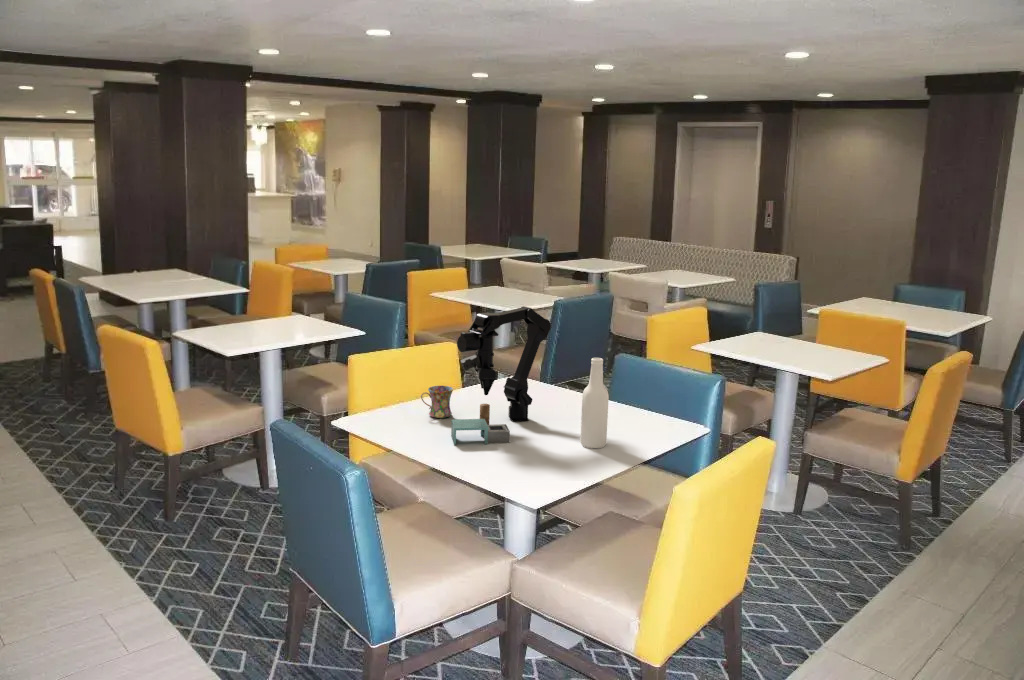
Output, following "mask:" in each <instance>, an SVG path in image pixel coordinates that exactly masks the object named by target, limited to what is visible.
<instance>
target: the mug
mask: <svg viewBox="0 0 1024 680" xmlns="http://www.w3.org/2000/svg"><path fill="white" fill-rule="evenodd" d="M427 390H428V392H429V393H428V392H423V393H421V395H420V398H421V401H422V402H423V404H424V405H426V406H427V407H429V408H428V409H429V410H430V411H429V413H428V414H429V416H430V417H433V418H436V419H444V418H449V417H451V416H452V414H453V412H452V411H451V406H450V404H451V403H450V401H451V396H452V394H453V391H454V388H453V387H452V386H448V385H433V386H430V387H428V389H427ZM424 395H428V396H429V398H430V399H431V405H430V404H429V403H427V402H425V400H424V399H423V396H424Z"/></svg>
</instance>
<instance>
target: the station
mask: <svg viewBox="0 0 1024 680" xmlns="http://www.w3.org/2000/svg"><path fill="white" fill-rule="evenodd" d="M450 423H451V424H450V425H451V426H450V427H451V431H450V432H451V434H450V435H451V436H450V437H451V441H452V444H453V446H457V431H480V437H483V439H484V445H485V446H486V445H487V444H500V443H501V444H505V443H506V444H507V443H508V444H509V443H510V441H511V440H510V439H511V438H510V435H511V434H510V433H511V432H510V429H509V427H508V426H507V424H506V423H505V424H504V423H503V424H501V423H500V424H498V423H497V424H489V425H487V423H486V421H485V419H480V418H463V419H451V422H450ZM487 446H488V445H487Z"/></svg>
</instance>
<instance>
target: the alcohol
mask: <svg viewBox="0 0 1024 680" xmlns="http://www.w3.org/2000/svg"><path fill="white" fill-rule="evenodd" d="M590 364H591V366H590V373H589V382H588V385H587V386H586V387H585V388H584V389H583V391H582V395H581V397H582V399H581V417H580V418H581V419H580V420H581V422H580V439H579V440H580V441H579V442H580V444H581V446H582V445H583V446H582V447H584V446H585V447H584V448H586V447H588V449H592V448H598V449H602V447H603V448H604V447H605V446H606V445H607V437H608V436H607V435H608V419H609V415H608V414H609V400H610V399H609V397H610V396H609V392H608V390H607V388H606V387H605V385H604V365H603V364H604V359H603V358H601V357H592V358H591V362H590Z"/></svg>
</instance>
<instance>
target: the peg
mask: <svg viewBox="0 0 1024 680" xmlns="http://www.w3.org/2000/svg"><path fill="white" fill-rule="evenodd" d="M490 409H491V405H490V404H489V403H480V404H479V419H485V421H486V423H487V425H490V412H491V411H490Z"/></svg>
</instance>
